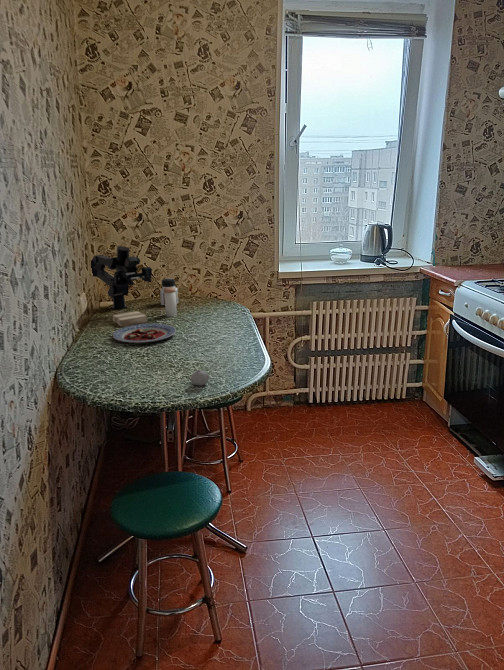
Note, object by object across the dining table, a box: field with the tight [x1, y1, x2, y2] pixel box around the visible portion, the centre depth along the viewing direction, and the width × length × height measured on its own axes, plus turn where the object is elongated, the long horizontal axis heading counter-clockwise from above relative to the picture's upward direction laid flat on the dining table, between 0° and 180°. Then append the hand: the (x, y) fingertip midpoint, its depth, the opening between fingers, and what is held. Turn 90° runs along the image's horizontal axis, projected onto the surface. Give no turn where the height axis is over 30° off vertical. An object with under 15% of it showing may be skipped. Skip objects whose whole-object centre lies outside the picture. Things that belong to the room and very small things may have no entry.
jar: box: [164, 287, 178, 318], centre depth 253 cm, size 5×5×13 cm
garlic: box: [190, 369, 210, 386], centre depth 171 cm, size 6×5×5 cm
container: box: [159, 277, 179, 306], centre depth 276 cm, size 8×8×13 cm
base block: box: [112, 310, 148, 328], centre depth 245 cm, size 12×12×3 cm
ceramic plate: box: [112, 323, 177, 344], centre depth 223 cm, size 26×26×3 cm
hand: (142, 282), depth 249 cm, fingers open, 9 cm apart
